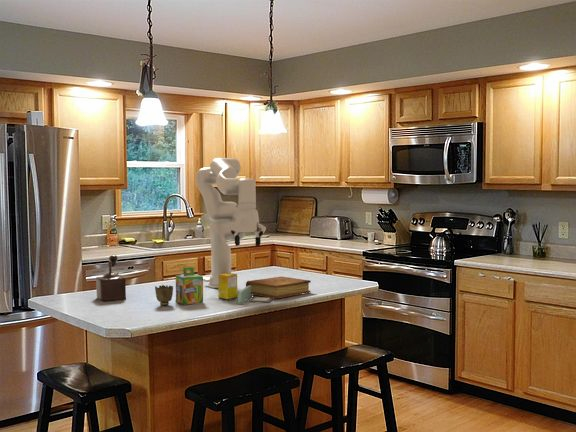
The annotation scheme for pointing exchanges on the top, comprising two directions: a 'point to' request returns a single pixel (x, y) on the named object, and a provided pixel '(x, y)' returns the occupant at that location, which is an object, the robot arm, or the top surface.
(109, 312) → the top surface
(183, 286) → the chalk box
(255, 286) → the diary
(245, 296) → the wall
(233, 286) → the supplement box
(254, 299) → the coaster
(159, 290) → the cup
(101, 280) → the coffee grinder
